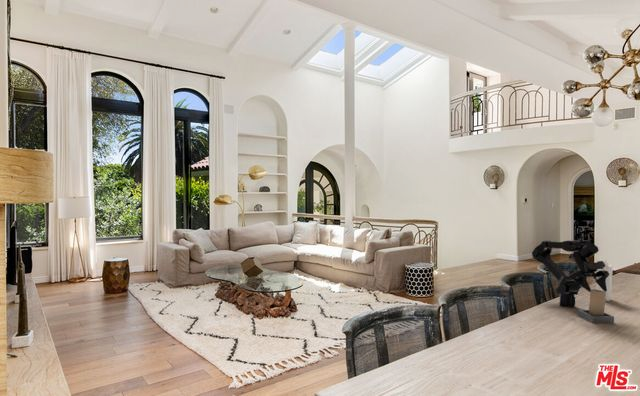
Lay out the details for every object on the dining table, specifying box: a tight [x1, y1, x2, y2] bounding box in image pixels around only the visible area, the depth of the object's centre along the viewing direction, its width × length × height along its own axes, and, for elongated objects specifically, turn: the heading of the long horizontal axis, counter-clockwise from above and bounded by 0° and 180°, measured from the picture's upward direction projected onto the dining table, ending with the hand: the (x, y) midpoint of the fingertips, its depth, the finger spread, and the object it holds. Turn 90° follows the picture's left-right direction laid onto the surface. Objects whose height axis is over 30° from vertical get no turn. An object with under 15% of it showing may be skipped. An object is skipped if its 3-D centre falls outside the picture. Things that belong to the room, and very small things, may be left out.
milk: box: [595, 259, 613, 302], centre depth 229 cm, size 6×6×22 cm
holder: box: [578, 309, 615, 324], centre depth 194 cm, size 10×10×3 cm
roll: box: [588, 288, 606, 316], centre depth 193 cm, size 6×6×13 cm
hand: (598, 291), depth 197 cm, fingers open, 9 cm apart
